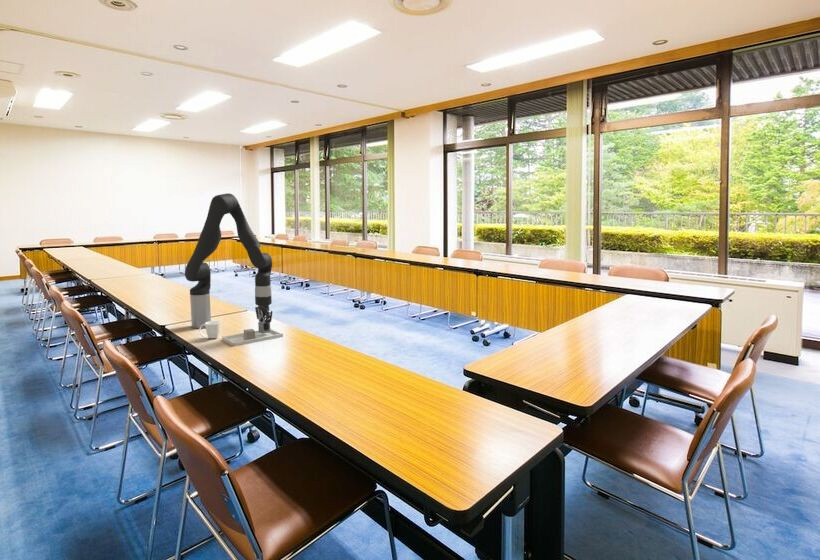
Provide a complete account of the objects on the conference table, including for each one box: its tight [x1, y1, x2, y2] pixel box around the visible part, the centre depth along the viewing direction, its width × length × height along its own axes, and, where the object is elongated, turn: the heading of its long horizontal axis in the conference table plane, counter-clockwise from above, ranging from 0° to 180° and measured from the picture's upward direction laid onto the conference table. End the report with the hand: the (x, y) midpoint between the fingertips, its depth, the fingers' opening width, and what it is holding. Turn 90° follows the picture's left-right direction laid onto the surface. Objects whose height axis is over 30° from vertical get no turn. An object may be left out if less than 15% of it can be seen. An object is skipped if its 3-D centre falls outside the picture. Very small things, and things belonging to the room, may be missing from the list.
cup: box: [198, 320, 221, 339], centre depth 217 cm, size 7×10×8 cm
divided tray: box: [221, 328, 284, 347], centre depth 219 cm, size 13×24×2 cm, turn 133°
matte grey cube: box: [257, 321, 271, 334], centre depth 225 cm, size 4×4×5 cm
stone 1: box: [243, 328, 256, 341], centre depth 214 cm, size 4×4×5 cm
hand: (264, 329), depth 225 cm, fingers closed on matte grey cube, 4 cm apart
